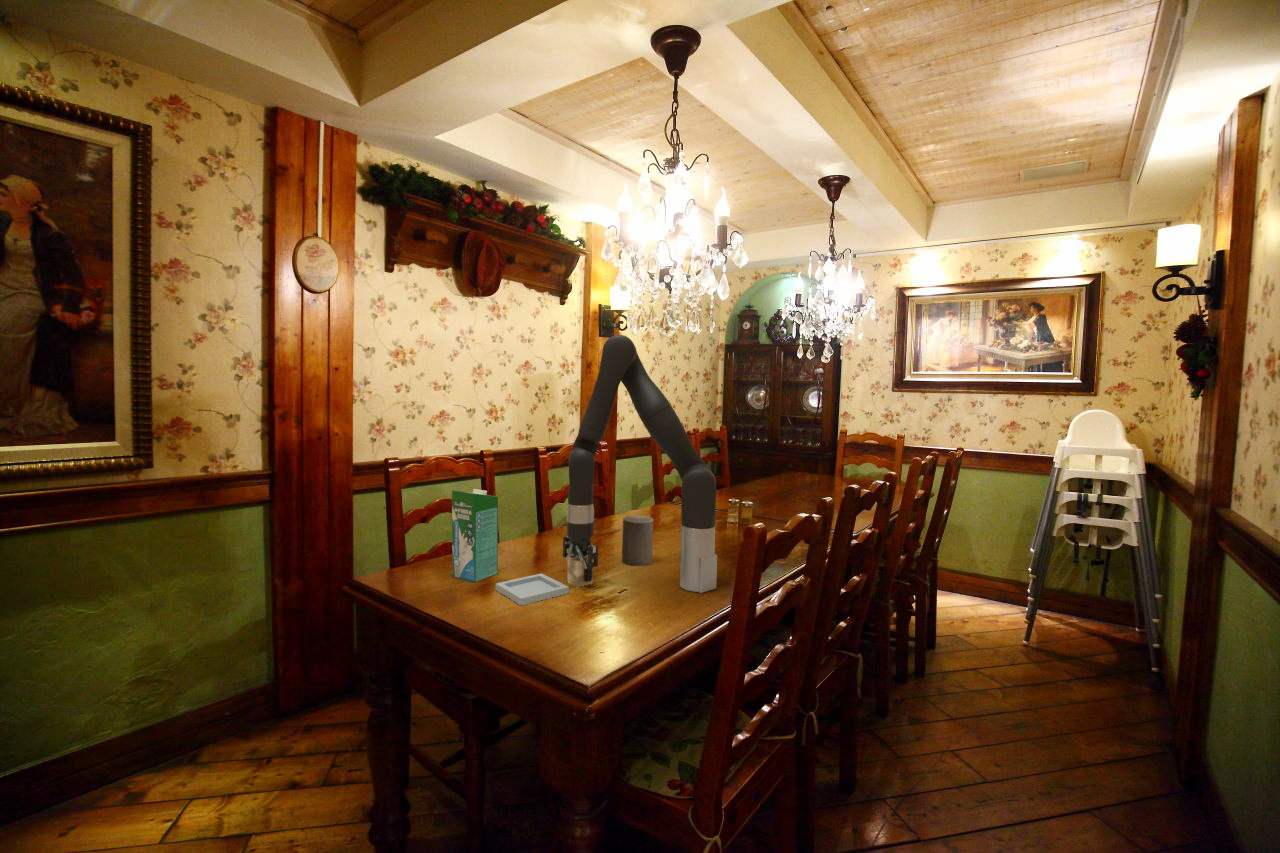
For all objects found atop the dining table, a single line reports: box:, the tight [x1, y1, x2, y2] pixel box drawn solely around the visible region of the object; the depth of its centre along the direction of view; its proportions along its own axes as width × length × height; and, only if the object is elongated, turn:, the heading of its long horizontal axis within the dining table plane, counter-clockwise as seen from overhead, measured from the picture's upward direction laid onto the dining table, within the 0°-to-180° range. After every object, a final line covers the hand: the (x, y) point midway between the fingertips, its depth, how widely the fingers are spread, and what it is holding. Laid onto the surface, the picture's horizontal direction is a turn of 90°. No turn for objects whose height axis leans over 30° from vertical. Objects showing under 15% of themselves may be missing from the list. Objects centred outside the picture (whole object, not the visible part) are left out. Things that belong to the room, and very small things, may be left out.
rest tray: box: [495, 572, 570, 606], centre depth 153 cm, size 14×14×2 cm
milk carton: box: [451, 488, 499, 583], centre depth 165 cm, size 9×9×25 cm
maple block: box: [566, 555, 594, 588], centre depth 160 cm, size 5×5×7 cm
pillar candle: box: [621, 514, 654, 566], centre depth 181 cm, size 10×10×15 cm
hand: (579, 577), depth 160 cm, fingers open, 7 cm apart
